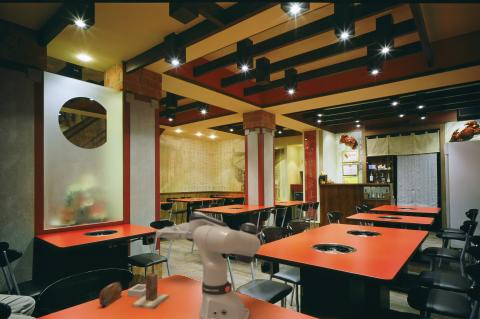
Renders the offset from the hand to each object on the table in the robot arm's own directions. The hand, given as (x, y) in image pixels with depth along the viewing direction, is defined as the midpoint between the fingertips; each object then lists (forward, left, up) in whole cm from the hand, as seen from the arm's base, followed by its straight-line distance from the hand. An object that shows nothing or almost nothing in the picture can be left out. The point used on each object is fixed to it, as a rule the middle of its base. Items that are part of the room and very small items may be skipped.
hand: (166, 236), depth 162 cm
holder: (+10, +10, -29) cm, 32 cm away
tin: (+18, +23, -29) cm, 41 cm away
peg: (-2, +18, -27) cm, 33 cm away
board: (-2, +18, -29) cm, 34 cm away
